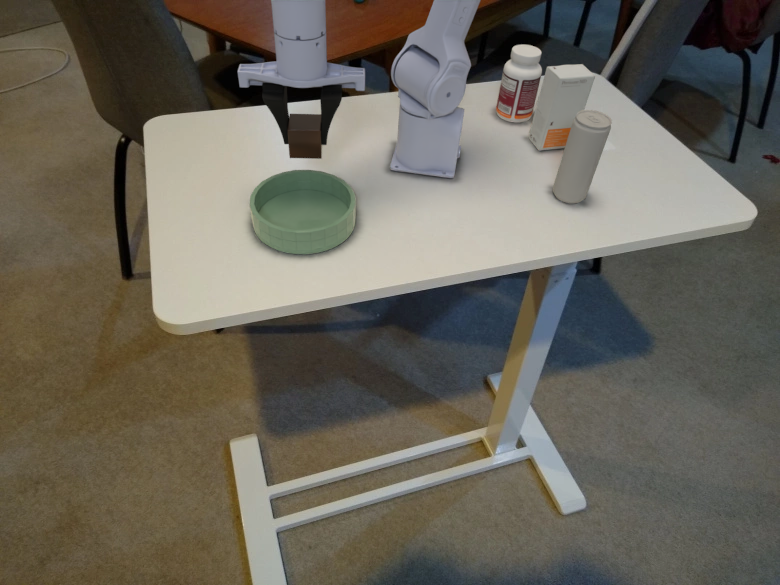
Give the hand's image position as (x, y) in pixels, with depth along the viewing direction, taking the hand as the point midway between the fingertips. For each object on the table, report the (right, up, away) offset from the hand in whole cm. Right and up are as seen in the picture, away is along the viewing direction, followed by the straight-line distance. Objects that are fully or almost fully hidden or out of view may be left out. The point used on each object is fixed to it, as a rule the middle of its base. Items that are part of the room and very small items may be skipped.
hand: (306, 140), depth 72 cm
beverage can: (+36, -5, +9) cm, 38 cm away
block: (0, -1, +1) cm, 1 cm away
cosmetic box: (+36, +5, +19) cm, 42 cm away
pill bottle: (+32, +11, +25) cm, 42 cm away
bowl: (-1, -10, +2) cm, 10 cm away
